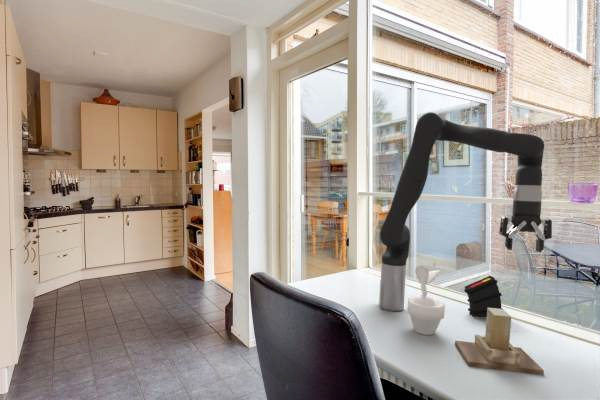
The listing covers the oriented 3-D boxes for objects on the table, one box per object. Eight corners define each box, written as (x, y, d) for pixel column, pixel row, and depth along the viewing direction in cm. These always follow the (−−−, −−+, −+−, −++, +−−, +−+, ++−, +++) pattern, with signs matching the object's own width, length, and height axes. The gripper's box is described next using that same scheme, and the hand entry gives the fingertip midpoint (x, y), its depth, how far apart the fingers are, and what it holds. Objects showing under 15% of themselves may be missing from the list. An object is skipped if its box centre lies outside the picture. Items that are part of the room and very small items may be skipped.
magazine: (510, 314, 128) (496, 277, 128) (478, 328, 128) (463, 291, 127) (504, 310, 132) (490, 275, 131) (473, 324, 132) (458, 288, 131)
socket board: (468, 365, 91) (469, 350, 91) (454, 344, 104) (455, 330, 104) (543, 375, 88) (544, 358, 88) (520, 351, 101) (521, 337, 101)
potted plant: (425, 341, 105) (430, 260, 104) (398, 327, 116) (402, 252, 115) (454, 335, 111) (458, 257, 110) (425, 322, 121) (429, 251, 121)
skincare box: (483, 348, 99) (486, 306, 99) (500, 351, 98) (503, 308, 98) (491, 359, 93) (493, 314, 93) (508, 361, 92) (511, 316, 92)
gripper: (507, 199, 107) (504, 251, 108) (558, 201, 105) (555, 254, 106) (498, 198, 115) (495, 247, 115) (545, 200, 112) (542, 250, 113)
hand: (523, 250), depth 110 cm, fingers open, 8 cm apart
